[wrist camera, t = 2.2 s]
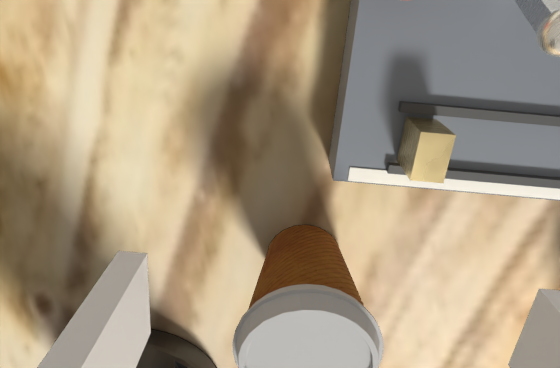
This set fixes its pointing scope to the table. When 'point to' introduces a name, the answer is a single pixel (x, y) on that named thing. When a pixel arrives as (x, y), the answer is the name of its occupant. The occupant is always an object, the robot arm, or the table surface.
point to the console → (449, 95)
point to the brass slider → (425, 149)
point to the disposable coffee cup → (306, 309)
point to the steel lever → (544, 23)
